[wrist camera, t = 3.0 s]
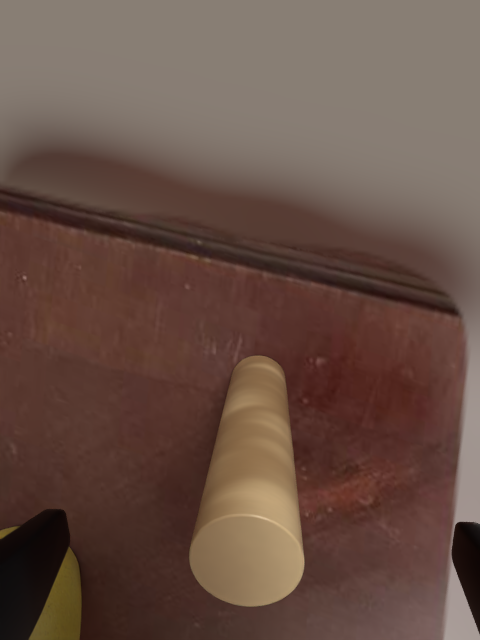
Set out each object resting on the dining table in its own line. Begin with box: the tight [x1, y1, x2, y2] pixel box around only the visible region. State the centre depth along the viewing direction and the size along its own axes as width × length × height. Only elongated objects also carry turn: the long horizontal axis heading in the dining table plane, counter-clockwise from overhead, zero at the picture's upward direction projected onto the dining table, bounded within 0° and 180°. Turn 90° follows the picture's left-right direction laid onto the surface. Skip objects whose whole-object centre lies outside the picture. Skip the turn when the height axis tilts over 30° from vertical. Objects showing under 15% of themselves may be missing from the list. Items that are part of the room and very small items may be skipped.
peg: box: [189, 356, 305, 607], centre depth 12 cm, size 2×2×9 cm
